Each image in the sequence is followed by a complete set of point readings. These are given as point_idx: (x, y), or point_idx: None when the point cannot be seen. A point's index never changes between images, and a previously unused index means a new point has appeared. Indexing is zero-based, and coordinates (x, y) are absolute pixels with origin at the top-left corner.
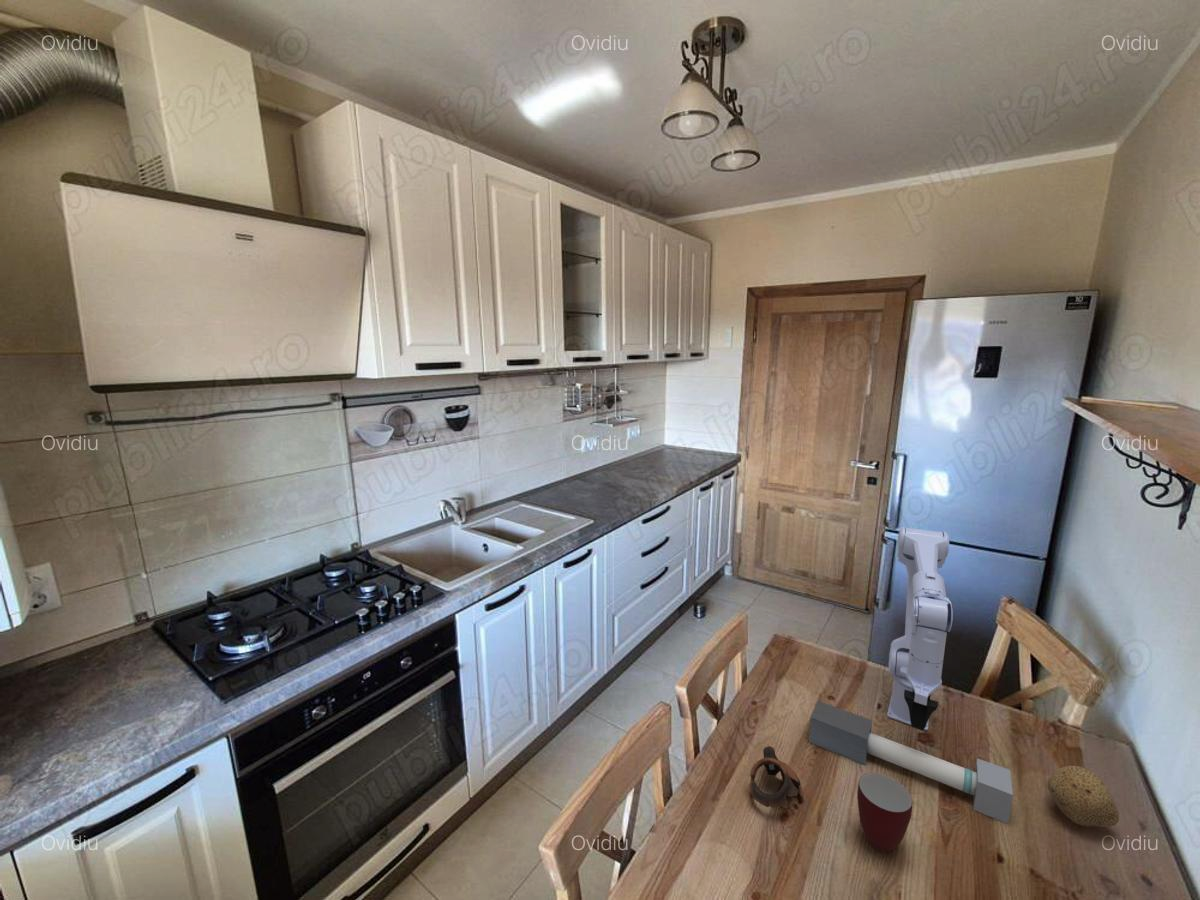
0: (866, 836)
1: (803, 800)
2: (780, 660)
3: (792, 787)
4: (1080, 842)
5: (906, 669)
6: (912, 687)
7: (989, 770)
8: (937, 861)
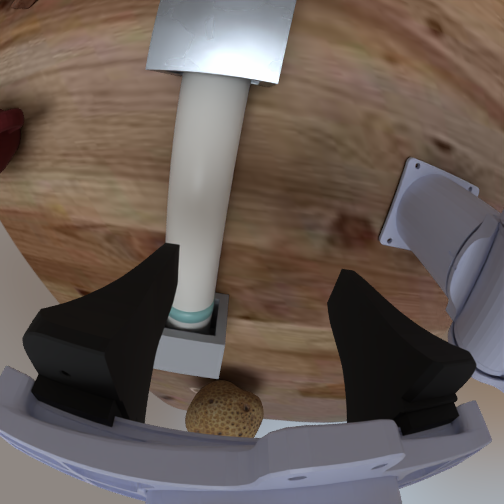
0: None
1: (26, 7)
2: None
3: None
4: (184, 375)
5: (341, 482)
6: (57, 431)
7: (194, 355)
8: (25, 215)
